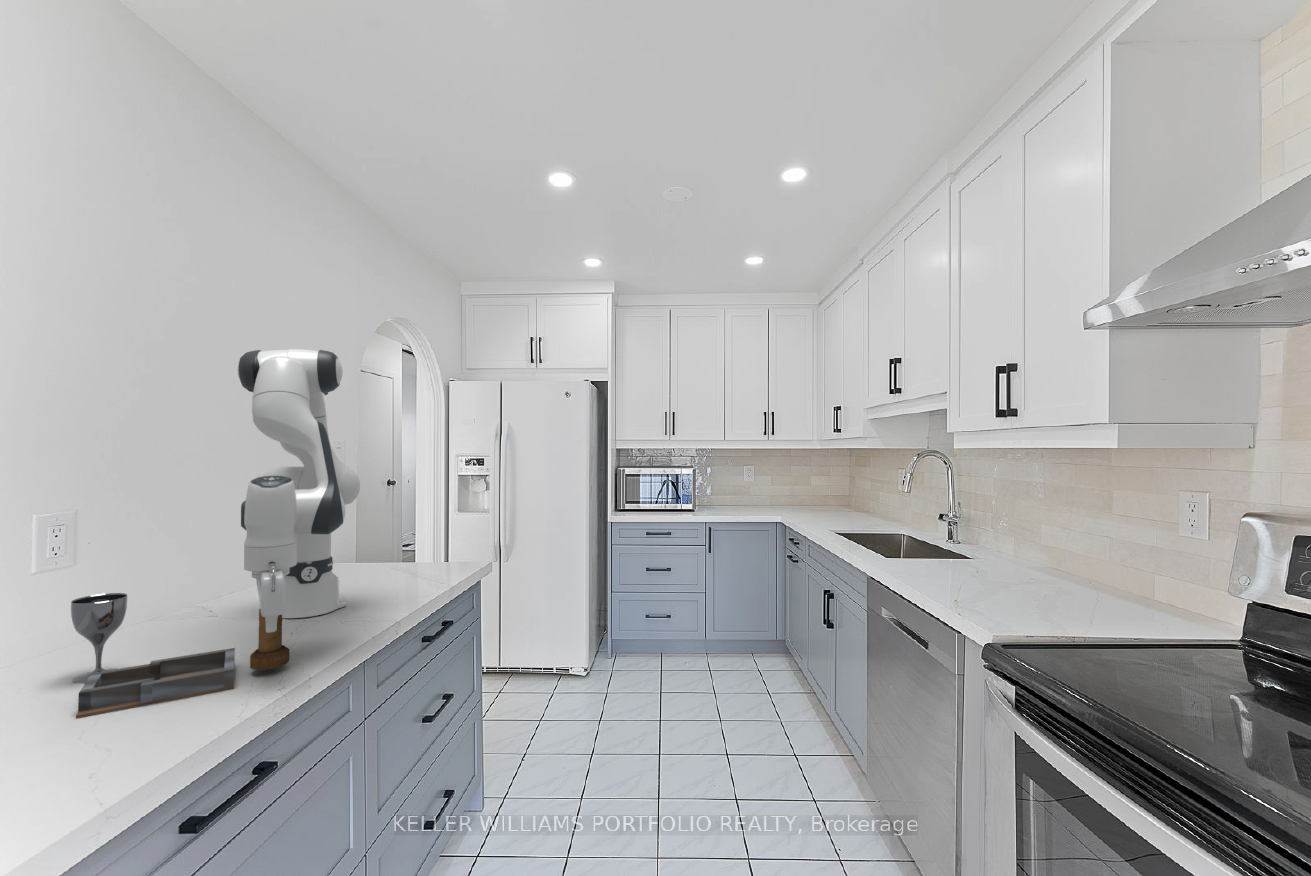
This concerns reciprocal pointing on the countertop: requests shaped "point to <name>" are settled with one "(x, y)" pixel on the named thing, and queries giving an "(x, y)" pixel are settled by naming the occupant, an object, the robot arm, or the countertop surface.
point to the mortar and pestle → (269, 647)
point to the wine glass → (98, 622)
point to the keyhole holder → (157, 682)
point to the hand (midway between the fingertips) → (270, 627)
